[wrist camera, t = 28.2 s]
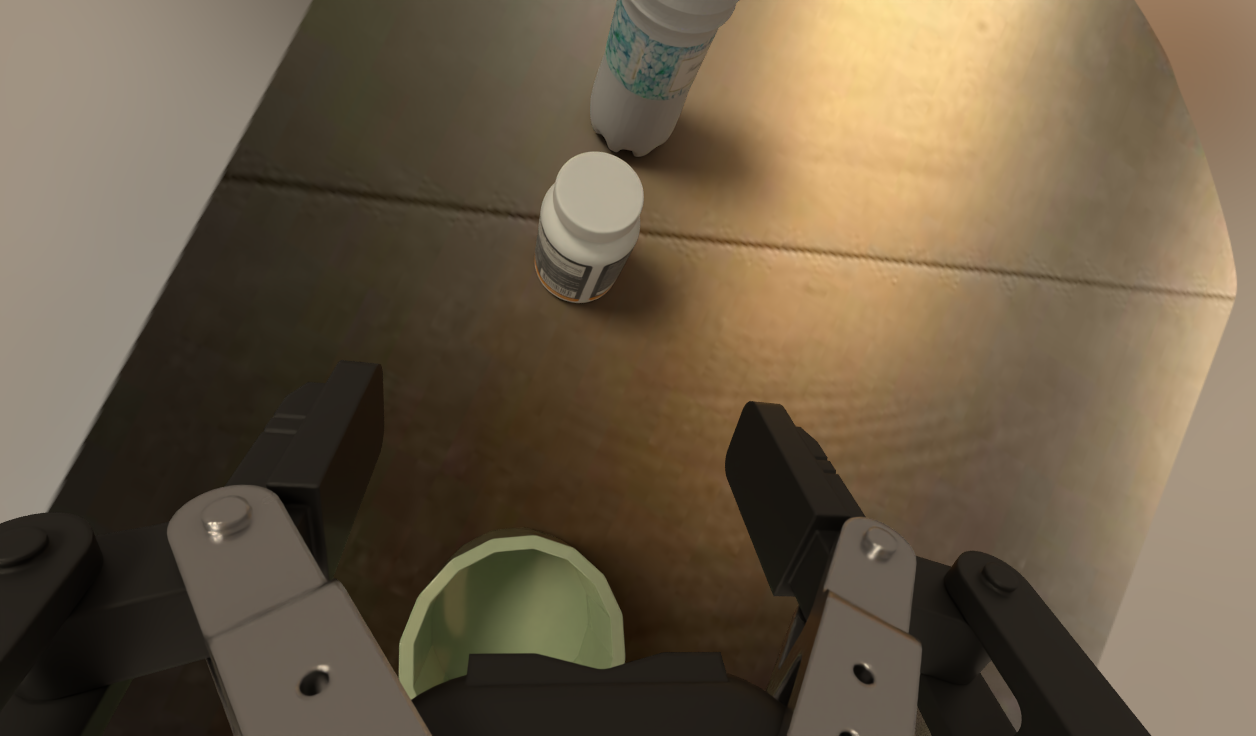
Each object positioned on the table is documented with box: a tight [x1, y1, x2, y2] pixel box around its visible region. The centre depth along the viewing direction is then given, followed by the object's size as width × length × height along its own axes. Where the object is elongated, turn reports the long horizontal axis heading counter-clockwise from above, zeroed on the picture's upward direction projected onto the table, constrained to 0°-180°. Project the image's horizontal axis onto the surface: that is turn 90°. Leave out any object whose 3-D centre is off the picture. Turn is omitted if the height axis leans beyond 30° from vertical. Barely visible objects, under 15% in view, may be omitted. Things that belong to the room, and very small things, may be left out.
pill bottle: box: [535, 152, 644, 303], centre depth 33 cm, size 6×6×10 cm
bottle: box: [590, 0, 739, 157], centre depth 32 cm, size 7×7×20 cm
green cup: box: [399, 527, 625, 700], centre depth 28 cm, size 10×10×8 cm
